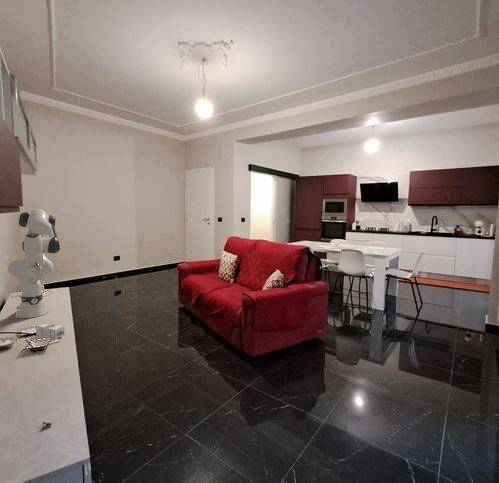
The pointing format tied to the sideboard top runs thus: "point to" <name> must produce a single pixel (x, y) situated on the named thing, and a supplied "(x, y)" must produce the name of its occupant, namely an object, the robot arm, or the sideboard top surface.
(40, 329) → the syrup box
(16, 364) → the sideboard top surface
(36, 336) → the mat
